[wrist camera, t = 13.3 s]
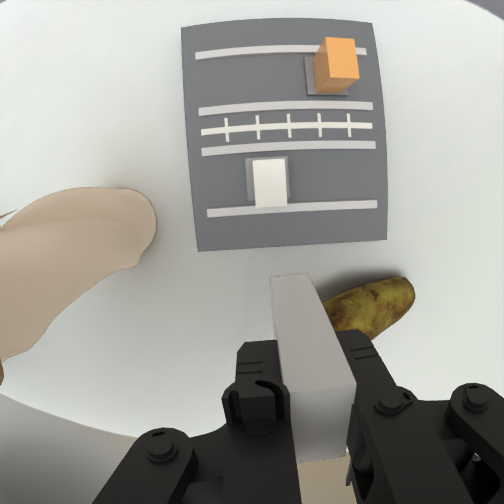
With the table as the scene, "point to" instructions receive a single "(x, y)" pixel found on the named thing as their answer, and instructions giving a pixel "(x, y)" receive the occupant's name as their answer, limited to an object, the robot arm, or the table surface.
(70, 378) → the table surface
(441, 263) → the table surface
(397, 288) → the potato
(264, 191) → the fader
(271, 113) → the console
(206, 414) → the table surface
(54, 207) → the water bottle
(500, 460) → the robot arm
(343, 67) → the fader
